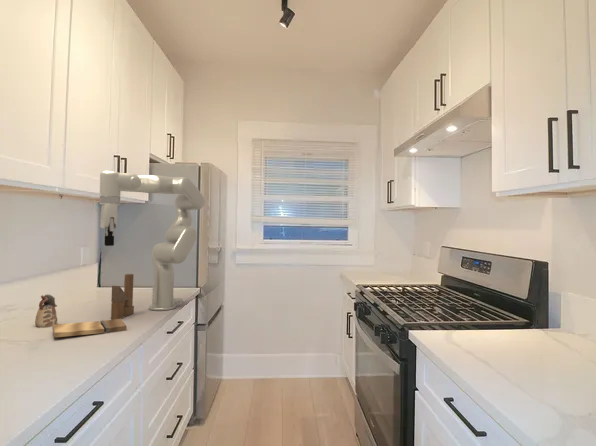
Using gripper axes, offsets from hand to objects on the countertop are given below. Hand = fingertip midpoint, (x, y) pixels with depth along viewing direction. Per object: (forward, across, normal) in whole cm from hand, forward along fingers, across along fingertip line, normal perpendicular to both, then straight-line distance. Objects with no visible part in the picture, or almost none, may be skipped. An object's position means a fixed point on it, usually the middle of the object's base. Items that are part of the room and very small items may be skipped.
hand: (109, 245), depth 143 cm
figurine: (+31, -6, -20) cm, 38 cm away
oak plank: (+30, +11, -11) cm, 34 cm away
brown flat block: (+31, +11, 0) cm, 33 cm away
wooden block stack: (+32, -5, +7) cm, 33 cm away
